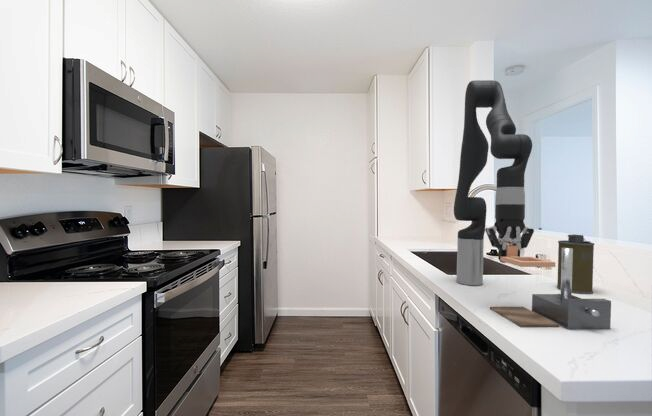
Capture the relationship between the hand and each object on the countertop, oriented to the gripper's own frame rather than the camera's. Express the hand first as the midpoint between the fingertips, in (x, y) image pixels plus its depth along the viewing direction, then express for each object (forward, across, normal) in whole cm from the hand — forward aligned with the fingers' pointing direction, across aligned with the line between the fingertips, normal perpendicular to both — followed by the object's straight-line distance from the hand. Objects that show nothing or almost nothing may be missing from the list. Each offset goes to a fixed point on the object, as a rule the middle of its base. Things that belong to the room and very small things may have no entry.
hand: (508, 262), depth 94 cm
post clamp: (+14, -11, +9) cm, 20 cm away
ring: (-1, 0, +5) cm, 5 cm away
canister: (+14, -38, -21) cm, 45 cm away
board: (+14, 0, +6) cm, 15 cm away
